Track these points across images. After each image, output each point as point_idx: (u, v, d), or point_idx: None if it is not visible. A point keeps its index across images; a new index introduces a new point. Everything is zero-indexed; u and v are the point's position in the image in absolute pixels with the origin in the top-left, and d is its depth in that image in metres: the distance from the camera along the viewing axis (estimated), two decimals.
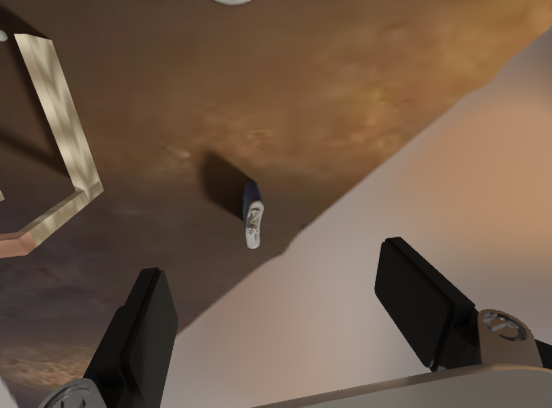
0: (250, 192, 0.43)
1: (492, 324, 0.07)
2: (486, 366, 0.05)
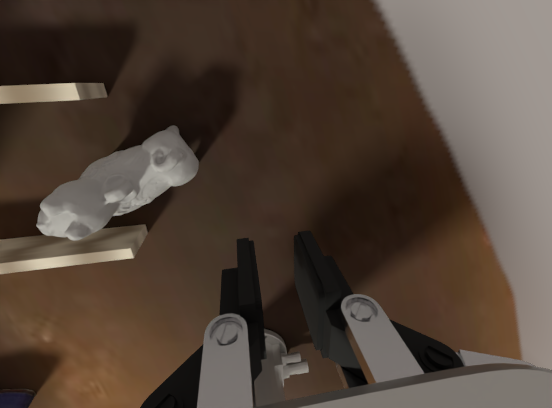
0: None
1: (353, 312, 0.08)
2: (486, 366, 0.05)
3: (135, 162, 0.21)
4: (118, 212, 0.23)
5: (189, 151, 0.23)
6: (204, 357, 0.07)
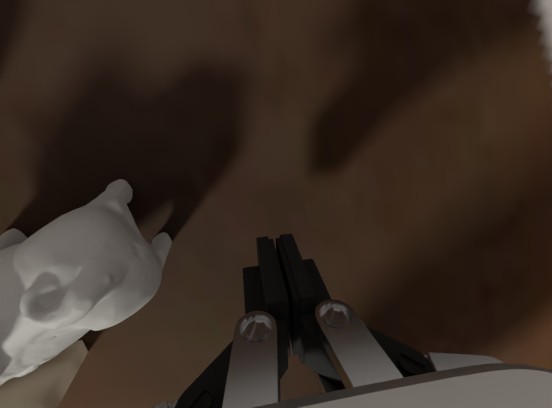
0: None
1: (328, 318, 0.08)
2: (486, 366, 0.05)
3: None
4: None
5: (136, 255, 0.10)
6: (237, 353, 0.07)
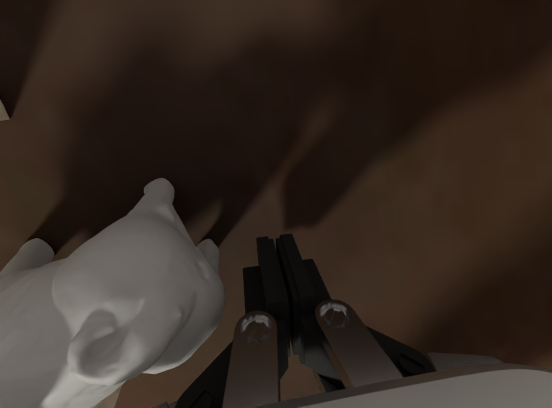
0: None
1: (328, 319, 0.08)
2: (486, 366, 0.05)
3: (24, 351, 0.06)
4: None
5: (202, 276, 0.08)
6: (237, 354, 0.07)
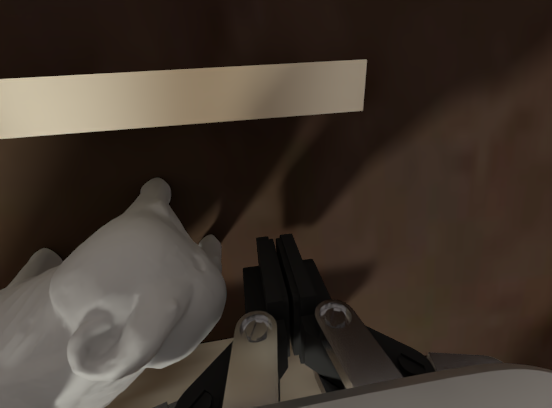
0: None
1: (328, 319, 0.08)
2: (486, 366, 0.05)
3: (28, 354, 0.06)
4: None
5: (198, 269, 0.08)
6: (237, 354, 0.07)
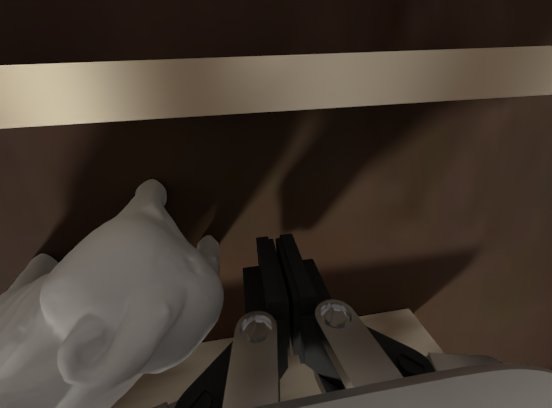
0: None
1: (328, 319, 0.08)
2: (486, 366, 0.05)
3: (20, 362, 0.06)
4: None
5: (192, 271, 0.08)
6: (237, 354, 0.07)
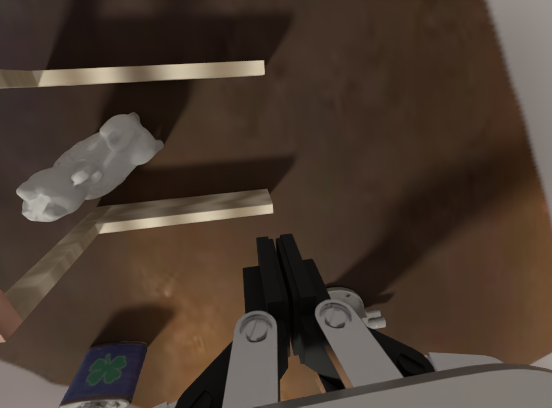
0: (135, 373, 0.40)
1: (328, 319, 0.08)
2: (486, 366, 0.05)
3: (95, 146, 0.24)
4: (91, 194, 0.26)
5: (143, 130, 0.25)
6: (237, 354, 0.07)
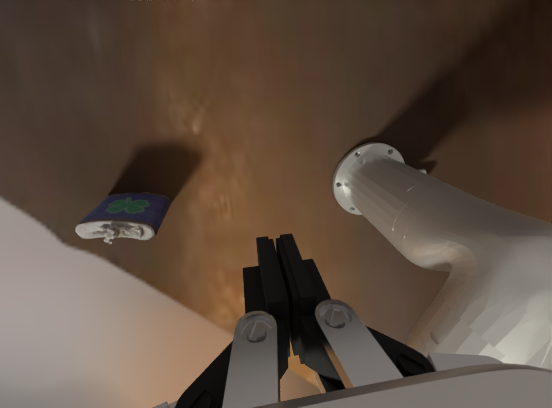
0: (159, 213, 0.36)
1: (328, 319, 0.08)
2: (486, 366, 0.05)
3: None
4: None
5: None
6: (237, 354, 0.07)
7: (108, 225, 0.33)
